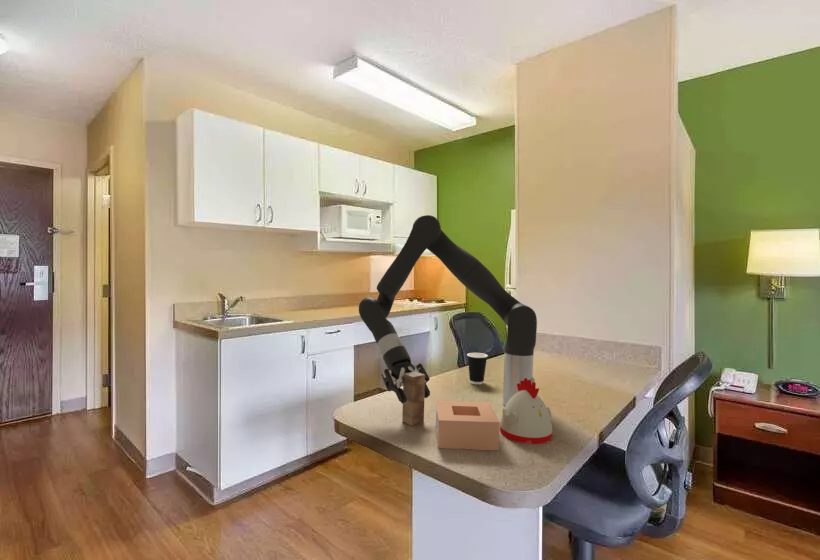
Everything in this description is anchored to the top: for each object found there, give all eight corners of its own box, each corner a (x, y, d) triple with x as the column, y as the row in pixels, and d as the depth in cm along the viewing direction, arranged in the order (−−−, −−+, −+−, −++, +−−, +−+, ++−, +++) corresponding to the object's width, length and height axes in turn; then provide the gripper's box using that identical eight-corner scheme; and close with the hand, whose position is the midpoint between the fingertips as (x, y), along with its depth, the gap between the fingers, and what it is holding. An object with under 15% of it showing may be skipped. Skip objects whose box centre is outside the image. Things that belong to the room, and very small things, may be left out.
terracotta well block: (488, 426, 118) (489, 402, 118) (498, 450, 103) (499, 422, 103) (435, 424, 118) (436, 400, 118) (438, 448, 103) (438, 420, 103)
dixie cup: (491, 384, 160) (491, 356, 160) (473, 386, 157) (474, 357, 157) (479, 379, 168) (480, 352, 167) (462, 381, 164) (463, 353, 164)
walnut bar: (414, 418, 123) (415, 371, 123) (423, 423, 120) (425, 374, 119) (402, 421, 120) (403, 373, 120) (411, 426, 117) (413, 377, 116)
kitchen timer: (521, 447, 105) (523, 388, 105) (489, 427, 118) (491, 374, 117) (563, 439, 111) (565, 383, 110) (529, 421, 123) (531, 370, 123)
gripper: (379, 347, 121) (402, 397, 112) (417, 342, 130) (441, 388, 121) (369, 362, 125) (390, 410, 116) (406, 356, 134) (429, 401, 125)
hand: (416, 399), depth 119 cm, fingers open, 8 cm apart
